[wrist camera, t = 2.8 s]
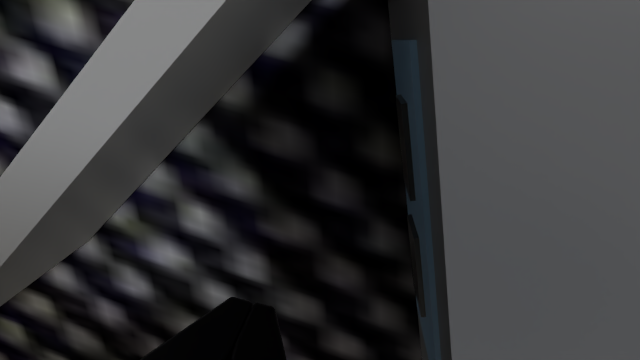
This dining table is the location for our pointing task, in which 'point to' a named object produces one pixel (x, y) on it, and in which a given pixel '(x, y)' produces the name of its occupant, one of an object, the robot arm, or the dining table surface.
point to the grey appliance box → (521, 175)
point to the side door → (124, 122)
